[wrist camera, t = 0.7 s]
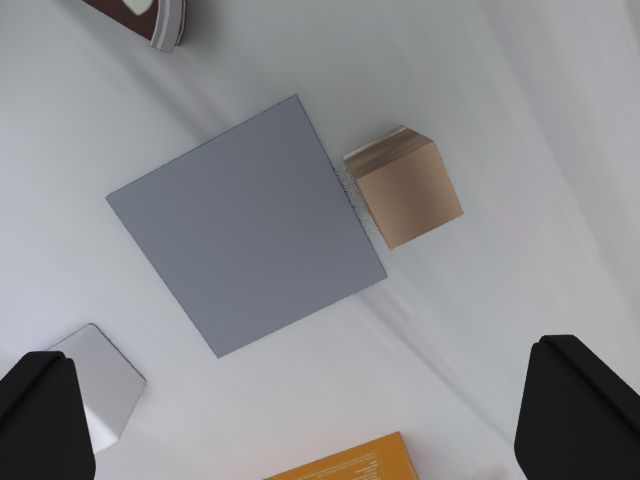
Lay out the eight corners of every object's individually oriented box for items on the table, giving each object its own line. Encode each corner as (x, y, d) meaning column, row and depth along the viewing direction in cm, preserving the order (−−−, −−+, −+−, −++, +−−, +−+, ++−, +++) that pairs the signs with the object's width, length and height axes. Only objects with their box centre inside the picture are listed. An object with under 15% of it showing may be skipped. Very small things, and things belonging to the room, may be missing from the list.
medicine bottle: (26, 362, 39) (-80, 478, 28) (92, 321, 38) (10, 425, 27) (83, 418, 42) (7, 547, 30) (148, 381, 41) (93, 500, 29)
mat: (296, 94, 33) (296, 95, 33) (386, 275, 38) (387, 277, 38) (106, 196, 35) (104, 197, 34) (218, 355, 40) (217, 358, 40)
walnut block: (402, 125, 34) (433, 140, 27) (427, 184, 36) (463, 214, 29) (342, 156, 35) (356, 180, 27) (369, 213, 37) (390, 249, 29)
